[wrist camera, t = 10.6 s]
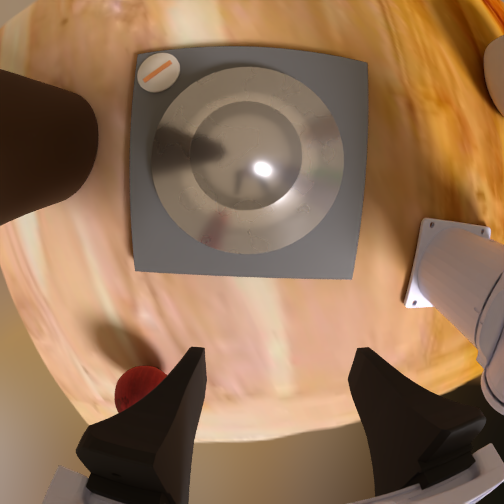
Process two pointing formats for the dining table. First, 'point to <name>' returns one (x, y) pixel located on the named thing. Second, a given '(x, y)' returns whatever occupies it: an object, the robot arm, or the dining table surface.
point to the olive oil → (42, 144)
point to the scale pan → (259, 220)
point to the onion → (136, 385)
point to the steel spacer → (246, 155)
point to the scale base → (263, 264)
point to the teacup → (495, 72)
